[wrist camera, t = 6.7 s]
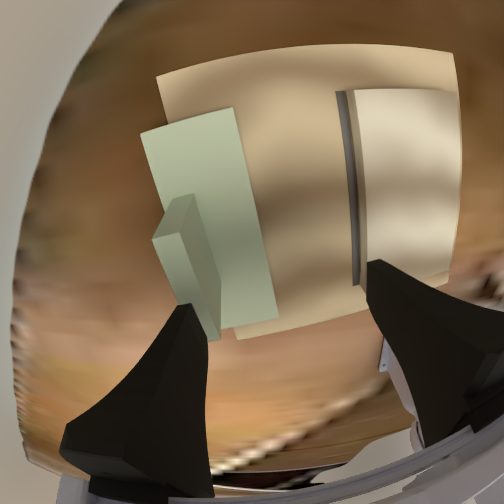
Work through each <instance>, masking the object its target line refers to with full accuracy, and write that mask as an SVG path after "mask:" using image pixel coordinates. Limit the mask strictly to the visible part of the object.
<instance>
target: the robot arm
mask: <svg viewBox="0 0 504 504" xmlns="http://www.w3.org/2000/svg"><path fill="white" fill-rule="evenodd" d="M366 302H367V304H368V306H369V309H370V311H371V314H372V316H373V318H374V320H375V322H376V324H377V326H378V327H379V329H380V331H381V332H382V334H383V336H384V342H383V348H382V354H381V359H380V364H379V372H384V371H388V373H389V375H390V377H391V380H392V382H393V384H394V386H395V388H396V390H397V393H398V395H399V397H400V399H401V401H402V404H403V406H404V407H405V409H406V410H407V411H408V412H410V413H411V414H413V415H414V416H415V418H416V420H415V421H413V423H412V425H411V431H410V441H411V445H412V447H413V450H414V453H415V454H412V455H410V456H408V457H406V458H403V459H401V460H398V461H396V462H393V463H390V464H388V465H385V466H382V467H380V468H377V469H374V470H371V471H368V472H365V473H362V474H359V475H356V476H352V477H349V478H346V479H342V480H338V481H334V482H330V483H326V484H322V485H318V486H313V487H308V488H303V489H298V490H292V491H286V492H280V493H273V494H265V495H256V496H245V497H229V498H214V497H215V494H214V489H213V483H212V478H211V472H210V465H209V458H208V449H207V439H206V425H205V397H206V384H207V371H208V341H207V336H206V334H205V331H204V329H203V327H202V325H201V323H200V321H199V318H198V316H197V314H196V312H195V310H194V307H193V305H192V303H187V304H182V305H177V307H176V308H175V310H174V311H173V313H172V314H171V316H170V317H169V319H168V320H167V322H166V323H165V325H164V327H163V328H162V330H161V331H160V333H159V334H158V336H157V337H156V339H155V340H154V341H153V343H152V344H151V346H150V347H149V348H148V350H147V351H146V352H145V354H144V355H143V356H142V358H141V359H140V360H139V362H138V363H137V364H136V365H135V366H134V368H133V369H132V370H131V371H130V372H129V373H128V374H127V376H126V377H125V378H124V379H123V380H122V381H121V382H120V383H119V384H118V385H117V386H116V387H115V388H114V389H112V390H111V391H110V392H109V393H108V394H107V395H106V396H105V397H104V398H103V399H101V400H100V401H99V402H98V403H96V404H95V405H94V406H93V407H91V408H90V409H89V410H87V411H86V412H84V413H83V414H81V415H80V416H78V417H77V418H75V419H74V420H72V421H71V422H69V423H67V424H66V428H65V431H64V434H63V438H62V441H61V445H60V449H59V453H60V455H61V456H62V457H63V458H64V459H65V460H66V461H68V462H69V463H70V464H72V465H74V466H75V467H77V468H79V469H80V470H82V471H84V472H85V473H87V474H89V475H91V478H90V482H89V481H87V480H84V479H81V478H77V477H74V476H70V475H66V474H61V479H60V484H59V489H58V494H57V500H56V504H329V503H333V502H337V501H341V500H344V499H348V498H352V497H355V496H358V495H361V494H365V493H367V492H371V491H374V490H377V489H379V488H382V487H385V486H388V485H390V484H393V483H395V482H398V481H400V480H403V479H405V478H407V477H410V476H412V475H414V474H416V473H419V472H421V471H423V470H425V469H427V470H426V471H425V472H423V473H421V474H419V475H417V476H416V478H415V480H413V481H412V482H411V483H409V484H408V485H406V486H405V487H403V489H402V490H403V492H401V493H398V494H396V495H393V496H390V497H388V498H385V499H382V500H379V501H376V502H373V503H370V504H466V502H468V501H469V500H471V499H472V498H474V499H475V501H476V503H477V504H504V312H501V311H497V310H492V309H488V308H484V307H481V306H477V305H474V304H471V303H468V302H465V301H462V300H460V299H457V298H455V297H452V296H450V295H447V294H445V293H443V292H441V291H439V290H437V289H435V288H433V287H431V286H428V285H427V284H425V283H423V282H421V281H419V280H417V279H415V278H414V277H412V276H410V275H408V274H407V273H405V272H403V271H401V270H400V269H398V268H396V267H394V266H393V265H391V264H389V263H387V262H386V261H384V260H382V259H377V260H373V261H369V262H367V284H366Z"/></svg>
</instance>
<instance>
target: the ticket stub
mask: <svg viewBox="0 0 504 504" xmlns="http://www.w3.org/2000/svg"><path fill="white" fill-rule="evenodd" d="M140 135H141V139H142V142H143V146H144V149H145V152H146V156H147V159H148V162H149V166H150V169H151V172H152V175H153V178H154V181H155V184H156V187H157V191H158V194H159V197H160V200H161V203H162V205H163V208H164V211H165V214H164V216H163V218H162V220H161V222H160V224H159V226H158V227H157V229H156V231H155V233H154V235H153V237H152V239H151V240H152V242H153V245H154V247H155V250H156V252H157V254H158V257H159V259H160V262H161V264H162V266H163V269H164V271H165V274H166V276H167V278H168V280H169V283H170V285H171V287H172V290H173V292H174V294H175V296H176V298H177V301H178V303H179V305H182V304H187V303H192V305H193V307H194V310H195V312H196V314H197V316H198V318H199V321H200V323H201V325H202V327H203V329H204V331H205V334H206V336H207V341H208V342H209V341H215V340H221V329H225V328H230V327H236V326H241V325H246V324H251V323H256V322H260V321H265V320H270V319H274V318H279V313H278V308H277V304H276V299H275V294H274V289H273V285H272V280H271V275H270V271H269V266H268V261H267V257H266V252H265V248H264V243H263V238H262V234H261V229H260V225H259V220H258V216H257V211H256V207H255V202H254V198H253V193H252V189H251V184H250V180H249V175H248V171H247V167H246V162H245V158H244V154H243V149H242V145H241V141H240V136H239V132H238V128H237V123H236V119H235V115H234V111H233V107H232V108H227V109H223V110H219V111H215V112H211V113H207V114H203V115H199V116H196V117H192V118H188V119H185V120H181V121H178V122H175V123H172V124H168V125H165V126H162V127H159V128H156V129H153V130H150V131H147V132H144V133H141V134H140Z"/></svg>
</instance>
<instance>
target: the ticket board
mask: <svg viewBox="0 0 504 504" xmlns="http://www.w3.org/2000/svg"><path fill="white" fill-rule="evenodd" d="M156 79H157V83H158V87H159V91H160V94H161V98H162V102H163V106H164V110H165V114H166V117H167V121H168V124H172V123H175V122H178V121H181V120H185V119H188V118H192V117H196V116H199V115H203V114H207V113H211V112H215V111H219V110H223V109H227V108H232V107H233V111H234V115H235V119H236V123H237V128H238V132H239V136H240V141H241V145H242V149H243V154H244V158H245V162H246V167H247V171H248V175H249V180H250V184H251V189H252V193H253V198H254V202H255V207H256V211H257V216H258V220H259V225H260V229H261V234H262V238H263V243H264V248H265V252H266V257H267V261H268V266H269V271H270V275H271V280H272V285H273V289H274V294H275V299H276V304H277V308H278V313H279V318H274V319H270V320H265V321H260V322H256V323H251V324H246V325H241V326H236V327H233V329H234V332H235V335H236V337H237V340H242V339H247V338H252V337H257V336H262V335H267V334H271V333H276V332H281V331H285V330H290V329H294V328H298V327H302V326H307V325H311V324H315V323H319V322H323V321H327V320H331V319H334V318H338V317H342V316H346V315H349V314H353V313H356V312H360V311H363V310H367V309H369V306H368V304H367V302H366V284H367V262H369V261H373V260H377V259H382V260H384V261H386V262H387V263H389V264H391V265H393V266H394V267H396V268H398V269H400V270H401V271H403V272H405V273H407V274H408V275H410V276H412V277H414V278H415V279H417V280H419V281H421V282H423V283H425V284H427V285H428V286H431V287H433V288H435V287H437V286H440V285H443V284H446V283H448V278H449V274H450V269H451V263H452V258H453V252H454V246H455V240H456V233H457V225H458V216H459V206H460V194H461V176H462V132H461V114H460V102H459V93H458V84H457V77H456V70H455V64H454V59H453V53H447V52H442V51H436V50H429V49H422V48H414V47H404V46H392V45H375V44H329V45H311V46H299V47H289V48H280V49H273V50H265V51H259V52H253V53H247V54H242V55H237V56H232V57H227V58H222V59H218V60H214V61H209V62H205V63H201V64H198V65H194V66H190V67H187V68H183V69H180V70H176V71H173V72H170V73H167V74H164V75H161V76H158V77H156Z"/></svg>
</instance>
